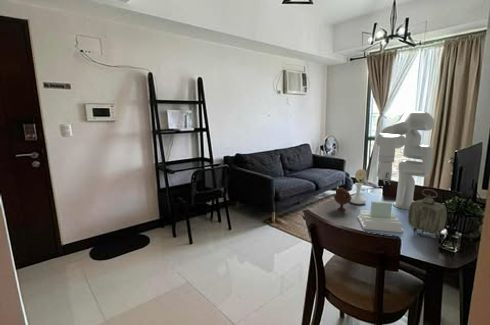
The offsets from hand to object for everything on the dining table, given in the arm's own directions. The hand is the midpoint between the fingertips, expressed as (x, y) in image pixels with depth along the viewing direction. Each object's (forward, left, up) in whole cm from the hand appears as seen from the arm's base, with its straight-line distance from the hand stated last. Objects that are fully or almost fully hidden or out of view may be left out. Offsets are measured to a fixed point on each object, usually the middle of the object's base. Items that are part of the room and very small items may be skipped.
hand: (383, 188), depth 146 cm
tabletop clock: (-19, +9, -22) cm, 30 cm away
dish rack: (0, 0, -21) cm, 21 cm away
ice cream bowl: (+18, -19, -21) cm, 34 cm away
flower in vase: (+5, -35, -22) cm, 41 cm away
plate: (0, 0, -20) cm, 20 cm away
